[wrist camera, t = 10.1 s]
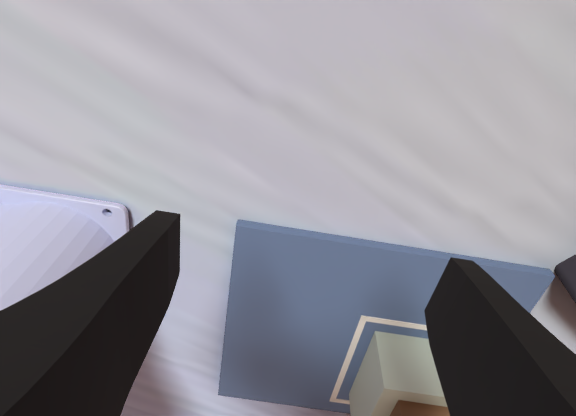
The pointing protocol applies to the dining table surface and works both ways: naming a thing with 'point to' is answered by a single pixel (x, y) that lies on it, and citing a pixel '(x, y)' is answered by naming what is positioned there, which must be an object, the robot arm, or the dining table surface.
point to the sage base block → (395, 375)
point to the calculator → (568, 275)
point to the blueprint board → (329, 309)
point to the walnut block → (418, 409)
